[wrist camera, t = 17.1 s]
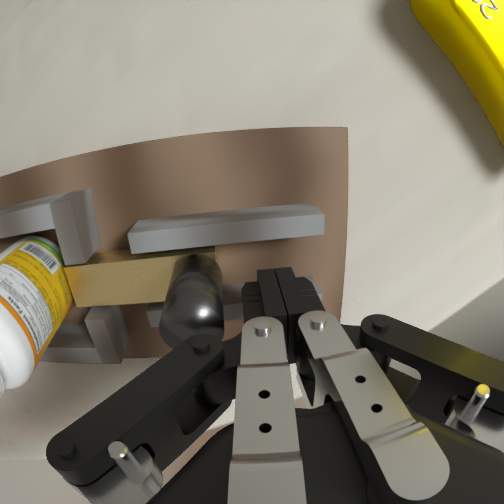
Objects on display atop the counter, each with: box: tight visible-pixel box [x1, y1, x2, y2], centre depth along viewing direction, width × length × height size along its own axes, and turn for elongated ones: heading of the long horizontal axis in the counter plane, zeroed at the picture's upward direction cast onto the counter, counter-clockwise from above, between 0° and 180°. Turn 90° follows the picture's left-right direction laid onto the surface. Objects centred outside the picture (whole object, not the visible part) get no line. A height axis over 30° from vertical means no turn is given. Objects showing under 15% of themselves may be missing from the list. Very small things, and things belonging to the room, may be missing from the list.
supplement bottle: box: [0, 235, 75, 399], centre depth 11 cm, size 5×5×10 cm
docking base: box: [0, 127, 348, 364], centre depth 15 cm, size 24×13×3 cm, turn 94°
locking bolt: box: [64, 245, 224, 349], centre depth 13 cm, size 8×2×6 cm, turn 94°
